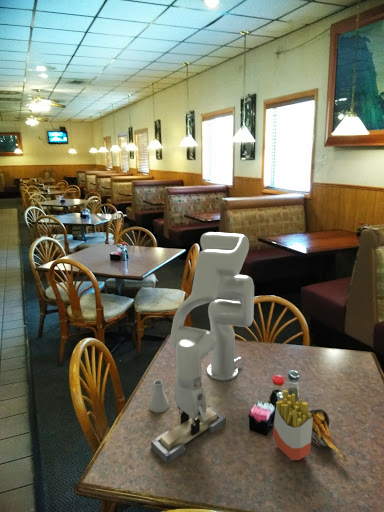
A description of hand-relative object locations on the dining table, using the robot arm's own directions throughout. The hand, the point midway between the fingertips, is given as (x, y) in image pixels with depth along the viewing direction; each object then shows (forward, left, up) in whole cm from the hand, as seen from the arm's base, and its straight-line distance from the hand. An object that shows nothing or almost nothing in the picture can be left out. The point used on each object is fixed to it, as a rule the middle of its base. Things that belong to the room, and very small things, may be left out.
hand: (190, 428), depth 117 cm
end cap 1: (+9, 0, -3) cm, 9 cm away
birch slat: (0, 0, -2) cm, 2 cm away
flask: (-1, -18, -3) cm, 18 cm away
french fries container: (-18, +25, -3) cm, 31 cm away
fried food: (-28, +30, -3) cm, 41 cm away
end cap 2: (-9, 0, -3) cm, 9 cm away
